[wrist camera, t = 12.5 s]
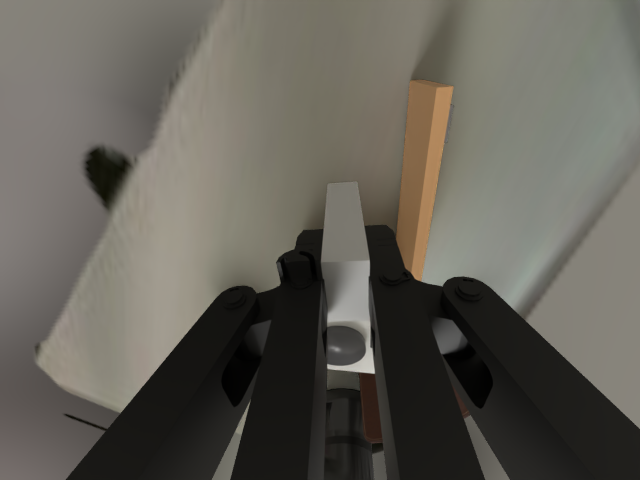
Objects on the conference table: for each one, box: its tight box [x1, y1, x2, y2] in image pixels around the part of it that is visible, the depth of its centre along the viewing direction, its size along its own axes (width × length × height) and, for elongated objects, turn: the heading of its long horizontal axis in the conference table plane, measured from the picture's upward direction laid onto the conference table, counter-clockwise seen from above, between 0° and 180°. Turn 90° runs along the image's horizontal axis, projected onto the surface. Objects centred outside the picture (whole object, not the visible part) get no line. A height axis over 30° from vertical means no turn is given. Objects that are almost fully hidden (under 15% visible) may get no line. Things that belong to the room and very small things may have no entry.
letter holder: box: [359, 372, 470, 443], centre depth 50 cm, size 10×20×14 cm, turn 131°
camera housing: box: [327, 317, 375, 374], centre depth 40 cm, size 13×15×11 cm
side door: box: [396, 80, 454, 281], centre depth 31 cm, size 2×25×9 cm, turn 4°
